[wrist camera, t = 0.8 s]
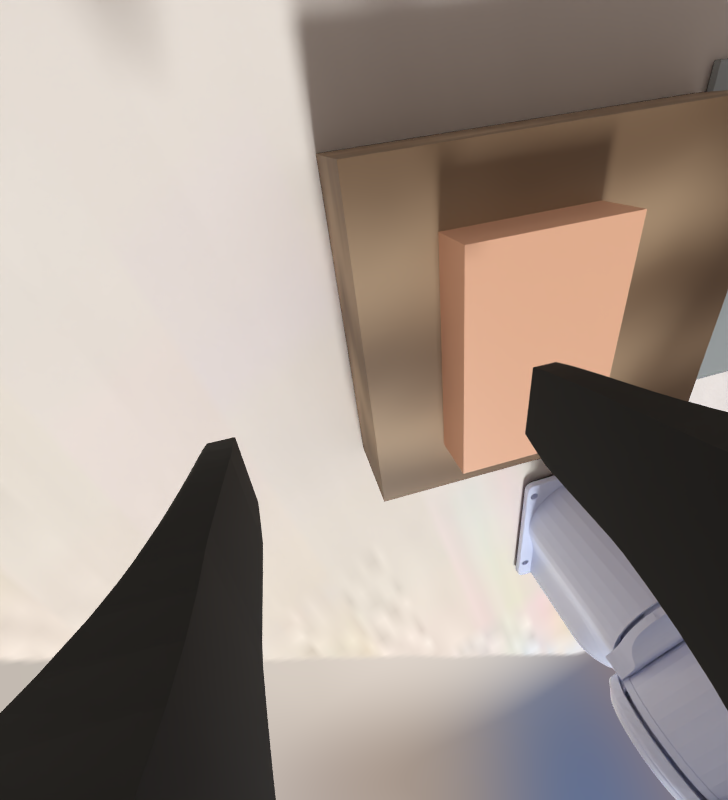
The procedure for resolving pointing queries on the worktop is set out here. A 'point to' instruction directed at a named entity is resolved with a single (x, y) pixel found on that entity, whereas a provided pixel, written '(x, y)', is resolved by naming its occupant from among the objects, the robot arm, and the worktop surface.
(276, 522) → the worktop surface
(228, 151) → the worktop surface
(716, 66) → the mat
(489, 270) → the peach upright slab
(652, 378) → the brown flat block
